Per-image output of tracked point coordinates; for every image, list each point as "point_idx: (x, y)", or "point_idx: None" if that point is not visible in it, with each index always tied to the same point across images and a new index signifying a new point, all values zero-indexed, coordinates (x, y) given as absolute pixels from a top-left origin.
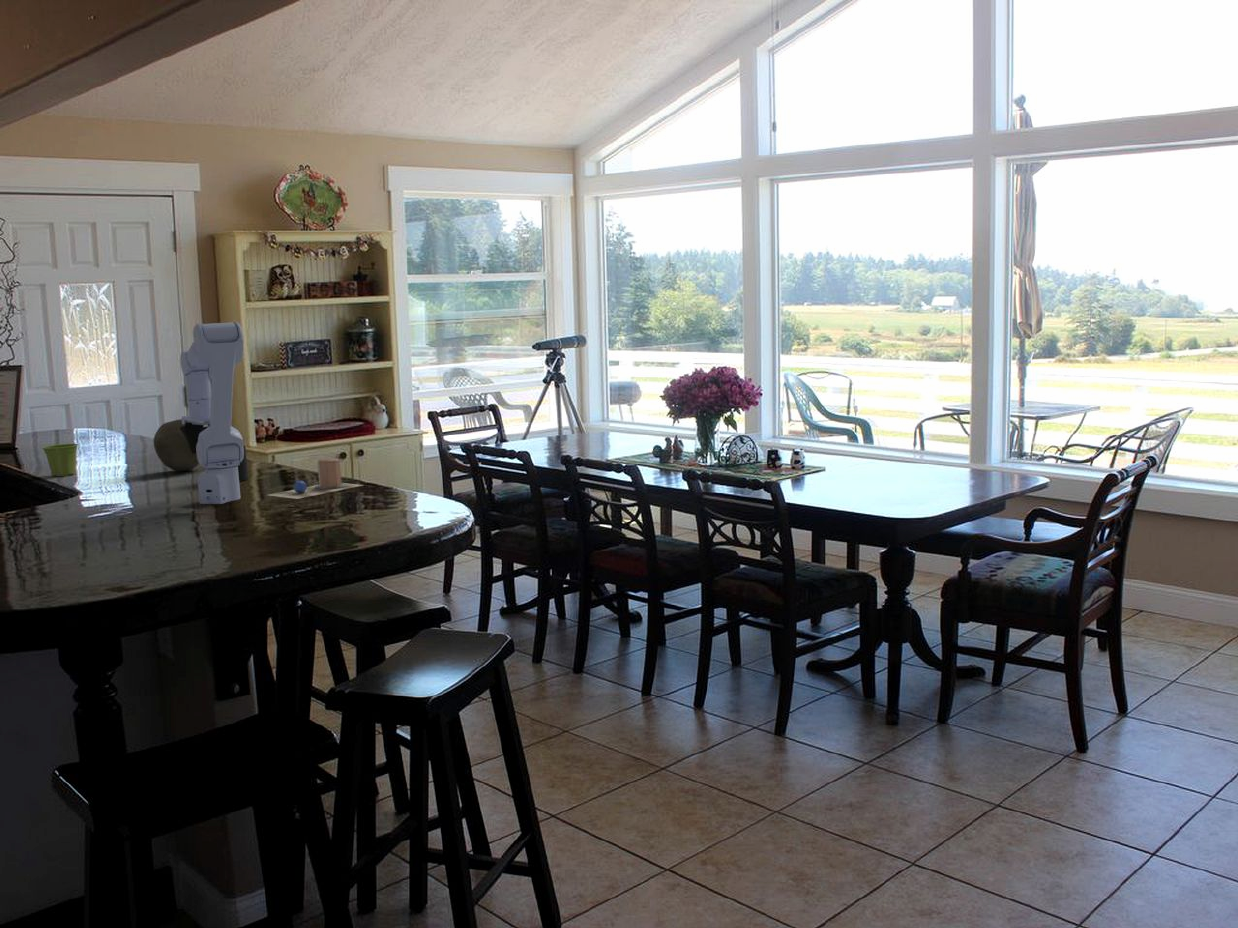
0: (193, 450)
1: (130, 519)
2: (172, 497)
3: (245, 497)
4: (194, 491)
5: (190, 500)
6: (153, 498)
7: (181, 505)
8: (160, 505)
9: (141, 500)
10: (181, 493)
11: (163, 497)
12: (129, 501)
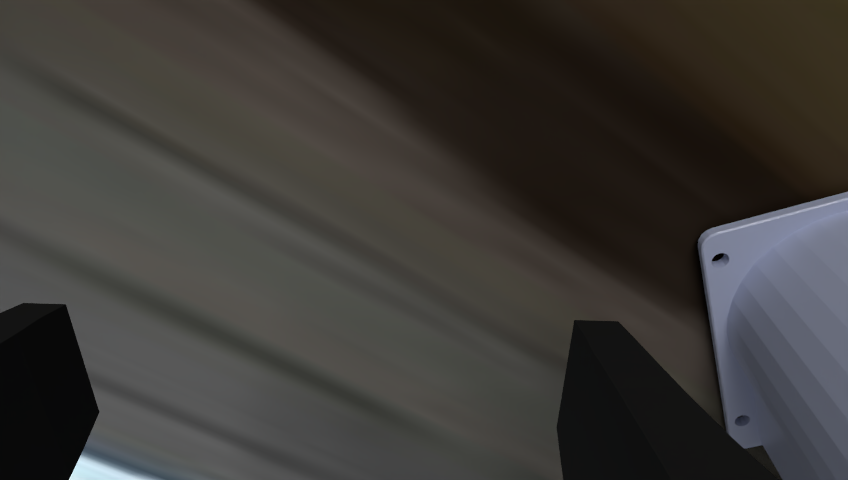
0: (72, 449)
1: None
2: (189, 295)
3: (826, 66)
4: (43, 55)
5: (447, 316)
6: (105, 361)
7: (556, 430)
8: (417, 468)
9: (116, 423)
10: (55, 166)
11: (126, 317)
12: (86, 461)
